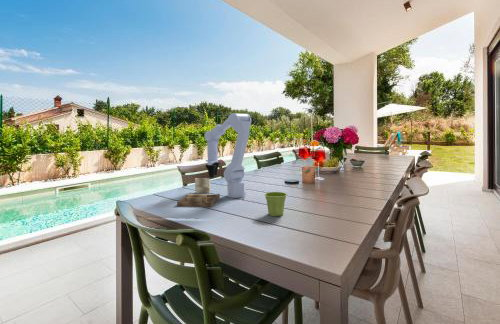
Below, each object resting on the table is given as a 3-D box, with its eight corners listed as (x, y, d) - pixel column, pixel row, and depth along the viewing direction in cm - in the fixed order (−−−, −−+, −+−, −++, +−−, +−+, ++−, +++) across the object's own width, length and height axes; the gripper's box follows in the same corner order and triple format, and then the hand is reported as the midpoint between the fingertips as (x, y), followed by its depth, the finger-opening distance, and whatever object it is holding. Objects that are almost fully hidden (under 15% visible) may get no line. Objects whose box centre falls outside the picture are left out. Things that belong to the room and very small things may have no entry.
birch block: (210, 194, 158) (209, 178, 157) (209, 194, 156) (209, 178, 155) (196, 193, 159) (195, 178, 158) (195, 194, 157) (194, 178, 156)
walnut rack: (219, 199, 145) (219, 193, 145) (211, 209, 127) (211, 202, 127) (189, 198, 147) (189, 193, 147) (177, 208, 129) (177, 202, 129)
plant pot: (260, 215, 117) (260, 195, 116) (270, 210, 125) (269, 190, 124) (282, 219, 112) (282, 197, 111) (290, 212, 121) (290, 192, 120)
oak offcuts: (206, 203, 133) (206, 194, 133) (205, 205, 130) (205, 195, 130) (188, 203, 134) (188, 194, 134) (186, 205, 131) (186, 195, 131)
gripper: (208, 151, 167) (209, 174, 168) (202, 153, 152) (202, 178, 154) (220, 151, 166) (221, 174, 168) (214, 153, 152) (215, 178, 153)
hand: (213, 176), depth 161 cm, fingers open, 7 cm apart
